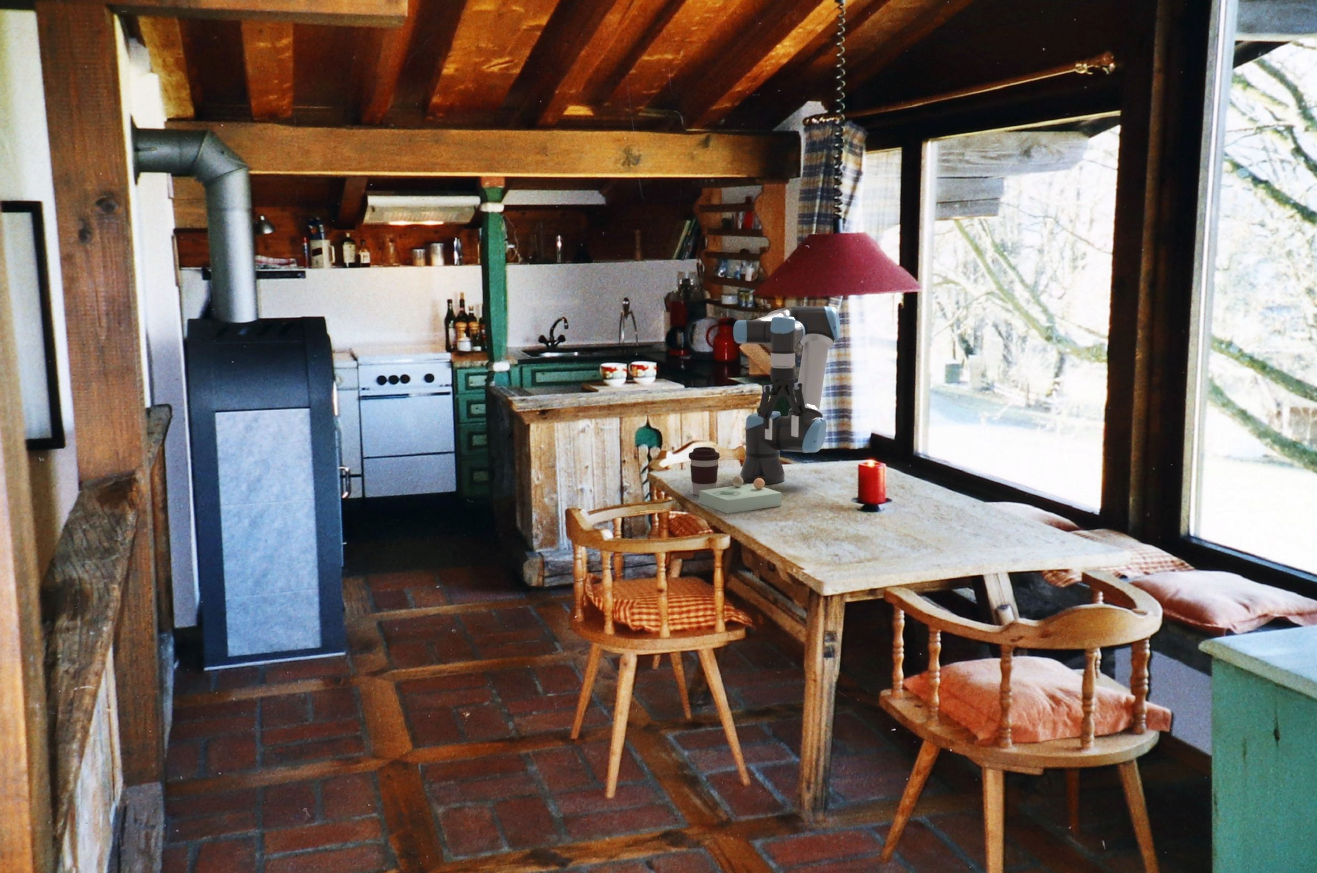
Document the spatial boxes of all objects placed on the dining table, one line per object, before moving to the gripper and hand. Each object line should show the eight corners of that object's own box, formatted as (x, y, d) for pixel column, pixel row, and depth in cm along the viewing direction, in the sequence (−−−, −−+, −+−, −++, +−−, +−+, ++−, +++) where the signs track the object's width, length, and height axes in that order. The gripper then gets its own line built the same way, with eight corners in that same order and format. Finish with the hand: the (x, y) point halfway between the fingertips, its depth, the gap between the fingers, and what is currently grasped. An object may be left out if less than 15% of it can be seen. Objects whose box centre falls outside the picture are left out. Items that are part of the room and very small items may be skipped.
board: (752, 495, 366) (752, 483, 366) (781, 505, 353) (781, 492, 352) (699, 503, 357) (699, 490, 356) (727, 513, 343) (727, 500, 342)
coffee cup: (720, 491, 374) (720, 446, 371) (718, 497, 364) (718, 451, 361) (689, 490, 374) (689, 445, 372) (687, 497, 365) (687, 451, 362)
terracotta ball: (760, 487, 360) (760, 476, 359) (766, 489, 357) (766, 478, 356) (751, 488, 358) (751, 477, 357) (757, 490, 355) (757, 479, 354)
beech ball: (739, 485, 363) (739, 474, 362) (745, 487, 360) (745, 476, 359) (730, 486, 361) (730, 475, 361) (736, 488, 358) (736, 477, 358)
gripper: (804, 363, 364) (802, 433, 367) (746, 367, 353) (745, 439, 357) (818, 365, 357) (817, 436, 361) (760, 369, 347) (759, 442, 350)
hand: (781, 437), depth 359 cm, fingers open, 9 cm apart
